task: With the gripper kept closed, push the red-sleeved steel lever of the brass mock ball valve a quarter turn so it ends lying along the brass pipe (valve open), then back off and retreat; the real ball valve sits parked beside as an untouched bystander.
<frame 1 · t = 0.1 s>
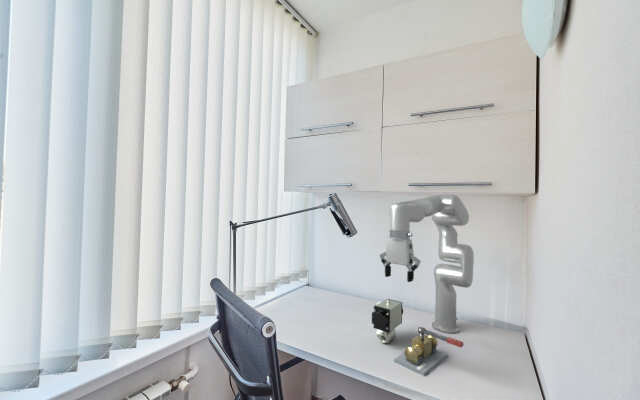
hand: (398, 278, 108), 31 cm above the table, fingers open, 9 cm apart
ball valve: (386, 340, 123), on the table
base board: (421, 358, 108), on the table
lever: (439, 336, 103), point 11 cm above the table, hinge at 90.0°
valve pipe: (421, 344, 108), on the base board, point 6 cm above the table
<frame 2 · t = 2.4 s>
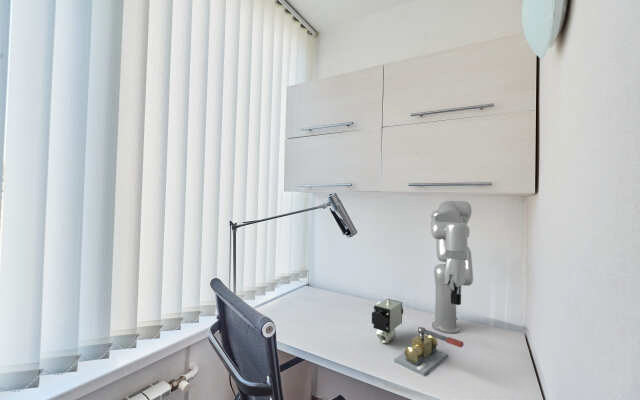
hand: (455, 303, 105), 23 cm above the table, fingers closed
nothing on the table moved.
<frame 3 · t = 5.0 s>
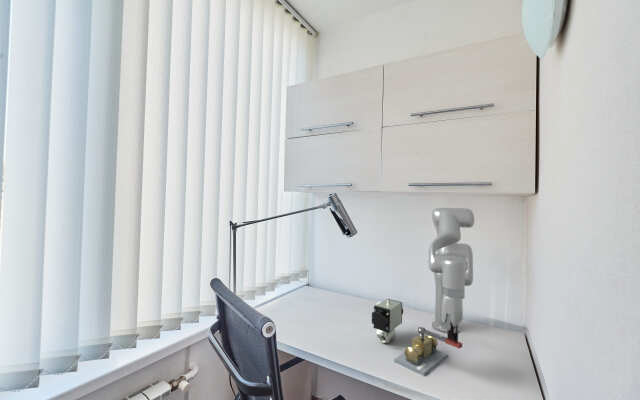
hand: (452, 342, 102), 10 cm above the table, fingers closed
lever: (438, 337, 103), point 11 cm above the table, hinge at 85.7°, touching gripper
everything else where it was.
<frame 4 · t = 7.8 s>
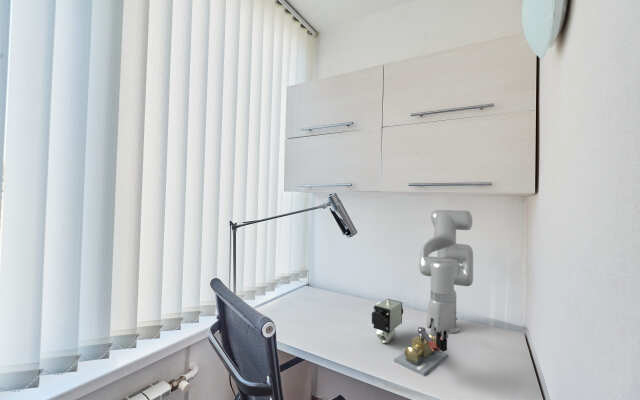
hand: (441, 349, 97), 9 cm above the table, fingers closed
lever: (427, 338, 102), point 11 cm above the table, hinge at 44.5°, touching gripper
everything else where it was.
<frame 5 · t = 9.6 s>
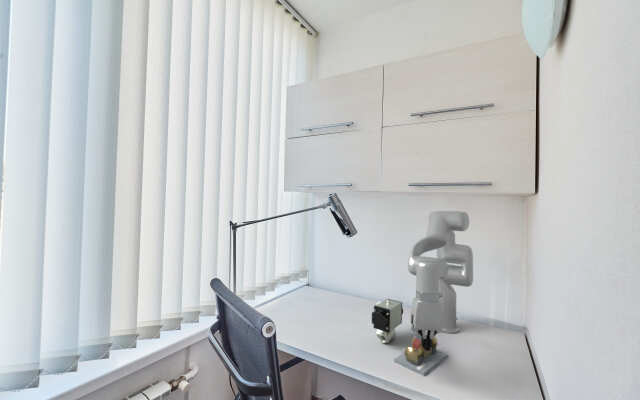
hand: (426, 348, 97), 10 cm above the table, fingers closed
lever: (419, 337, 102), point 11 cm above the table, hinge at 19.1°, touching gripper
everything else where it was.
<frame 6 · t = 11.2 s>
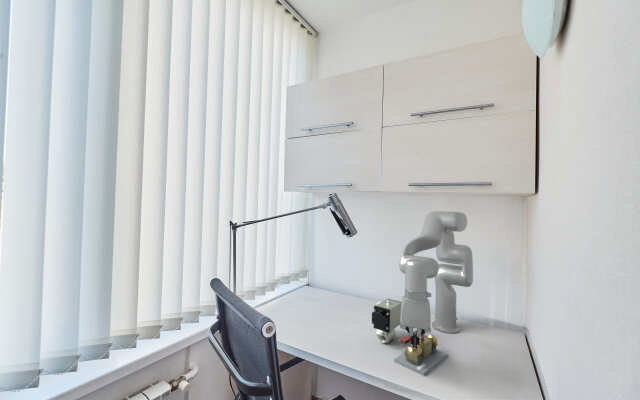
hand: (414, 346, 98), 10 cm above the table, fingers closed
lever: (413, 335, 104), point 11 cm above the table, hinge at 0.2°
everything else where it was.
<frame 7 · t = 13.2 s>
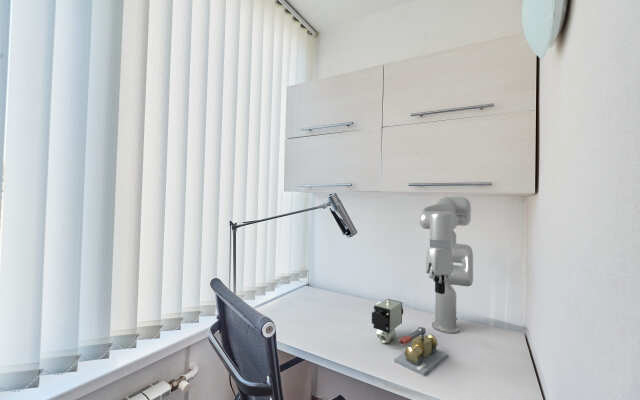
hand: (439, 292, 105), 27 cm above the table, fingers closed
nothing on the table moved.
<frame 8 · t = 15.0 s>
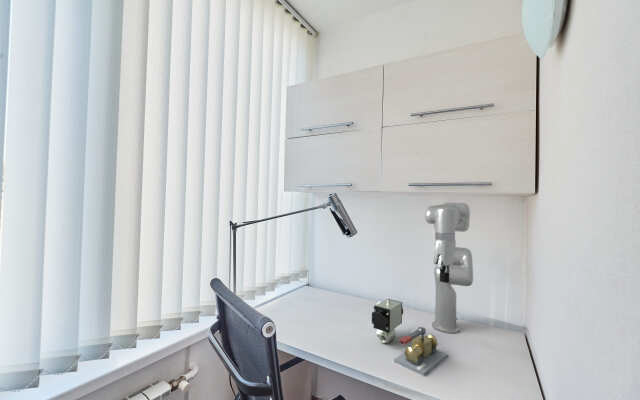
hand: (444, 281, 114), 29 cm above the table, fingers closed
nothing on the table moved.
at the end: lever at +0° (first picture: +90°) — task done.
